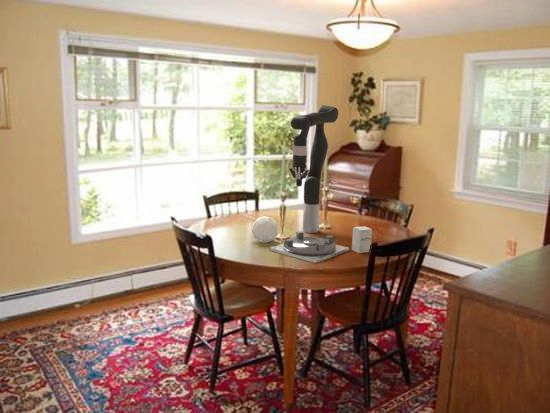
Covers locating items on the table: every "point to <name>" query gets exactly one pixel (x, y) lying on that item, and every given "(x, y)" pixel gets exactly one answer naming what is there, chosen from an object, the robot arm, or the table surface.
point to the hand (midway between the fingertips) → (299, 186)
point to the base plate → (309, 258)
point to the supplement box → (361, 239)
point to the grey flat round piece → (310, 245)
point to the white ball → (265, 229)
